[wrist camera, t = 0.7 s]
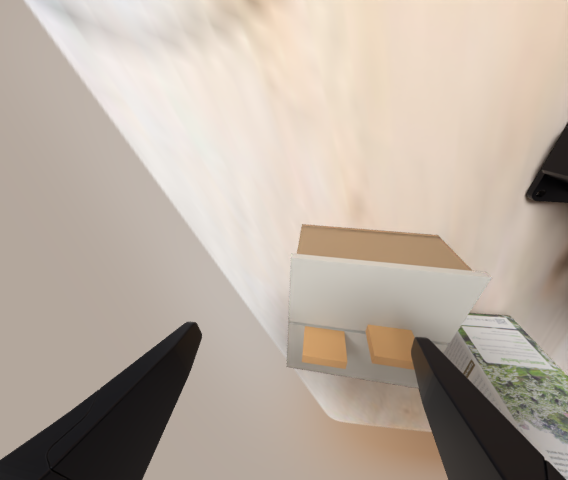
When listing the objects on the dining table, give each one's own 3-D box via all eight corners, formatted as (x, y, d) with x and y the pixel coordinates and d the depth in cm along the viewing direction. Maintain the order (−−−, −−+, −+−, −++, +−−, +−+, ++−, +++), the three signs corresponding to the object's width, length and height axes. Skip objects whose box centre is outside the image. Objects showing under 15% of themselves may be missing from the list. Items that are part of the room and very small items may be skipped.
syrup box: (428, 346, 24) (544, 597, 11) (443, 308, 21) (622, 589, 8) (487, 351, 23) (684, 631, 10) (512, 312, 20) (825, 635, 8)
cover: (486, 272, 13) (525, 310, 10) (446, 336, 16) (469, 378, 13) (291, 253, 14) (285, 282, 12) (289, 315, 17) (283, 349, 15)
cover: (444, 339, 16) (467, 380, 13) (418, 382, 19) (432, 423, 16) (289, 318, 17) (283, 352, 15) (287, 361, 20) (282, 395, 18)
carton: (437, 235, 17) (475, 274, 13) (397, 329, 23) (414, 377, 19) (302, 224, 19) (296, 256, 14) (296, 315, 25) (290, 358, 20)
